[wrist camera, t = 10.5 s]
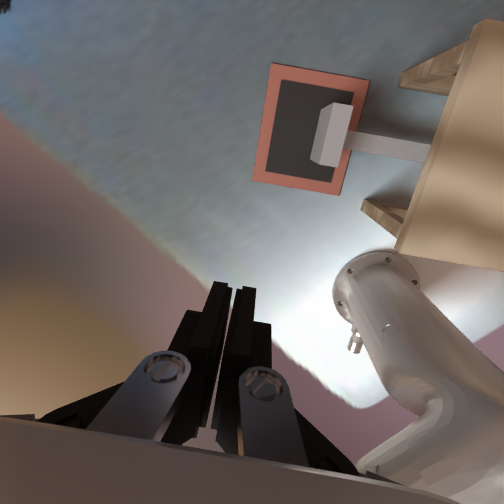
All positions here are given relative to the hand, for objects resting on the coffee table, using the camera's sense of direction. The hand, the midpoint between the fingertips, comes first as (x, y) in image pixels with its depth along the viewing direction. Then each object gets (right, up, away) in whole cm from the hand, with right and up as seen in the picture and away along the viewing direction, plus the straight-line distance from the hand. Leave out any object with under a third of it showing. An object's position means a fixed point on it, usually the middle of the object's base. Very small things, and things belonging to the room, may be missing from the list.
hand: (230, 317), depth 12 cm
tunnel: (+23, +15, +27) cm, 39 cm away
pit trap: (+8, +18, +27) cm, 33 cm away
